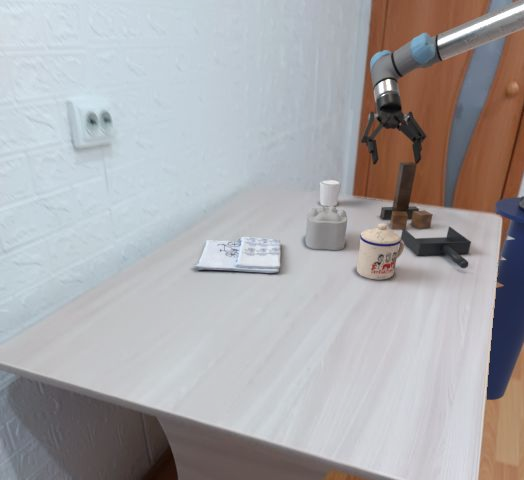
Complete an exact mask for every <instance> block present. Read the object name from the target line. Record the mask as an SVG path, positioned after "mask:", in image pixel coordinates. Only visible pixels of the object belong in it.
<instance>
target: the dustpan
mask: <svg viewBox="0 0 524 480" xmlns="http://www.w3.org/2000/svg"><path fill="white" fill-rule="evenodd" d="M400 237H401V240H402V241H403V242H404V246H406V247H407V248H408V249H409V250H410V251H411V252H412V253H414V254H415V255H416V256H435V255H439V256H441V255H445V256H446V257H447V258H449V260H451V261H452V262H454V264H456V266H458V267H460V268H461V269H466V268H468V267H469V265H470V263H469V261H468V259H465V258H464V257H463V256H462V255H465V254H469V251H470V249H471V244H472V241H471V240H469V239H468V238H466V237H465V236H464V235H463V234H461V233H460V232H458V231H457V230H455V229H454V228H453V227H451V226H448V229H447V234H446V237H421V238H417V237H415V236H414V235H412V234H411V233H410V232H409V231H408V230H407V229H404V228H403V229H401V235H400Z"/></svg>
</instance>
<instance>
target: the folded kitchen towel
mask: <svg viewBox="0 0 524 480" xmlns="http://www.w3.org/2000/svg"><path fill="white" fill-rule="evenodd" d="M280 267H281V239H280V238H265V237H253V236H243V235H241V238H238V240H236V241H235V240H215V239H207V240H205V246H204V248H203V251H202V254H201V255H200V259H199V260H198V261H197V262H196V264H195V265H194V267H193V268H194V269H195V268H196V270H200V271H201V270H207V271H233V272H246V273H263V274H264V273H265V274H275V273H279V272H280Z"/></svg>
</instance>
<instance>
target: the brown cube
mask: <svg viewBox="0 0 524 480" xmlns="http://www.w3.org/2000/svg"><path fill="white" fill-rule="evenodd" d="M408 220H409V219H408V215H407V212H403V211H392V216H391V219H390V223H389V225H390V229H391V230H403V228H404V229H405V230H407V229H406V228H407V225H408Z"/></svg>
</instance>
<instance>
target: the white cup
mask: <svg viewBox="0 0 524 480" xmlns="http://www.w3.org/2000/svg"><path fill="white" fill-rule="evenodd" d="M341 186H342V182H341V181H340V180H337V179H336V180H335V179H322V180H320V181H319V204H320V206H324V207H330V206H334V207H336V206H337V205H338V202H339V197H340V191H341Z"/></svg>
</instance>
